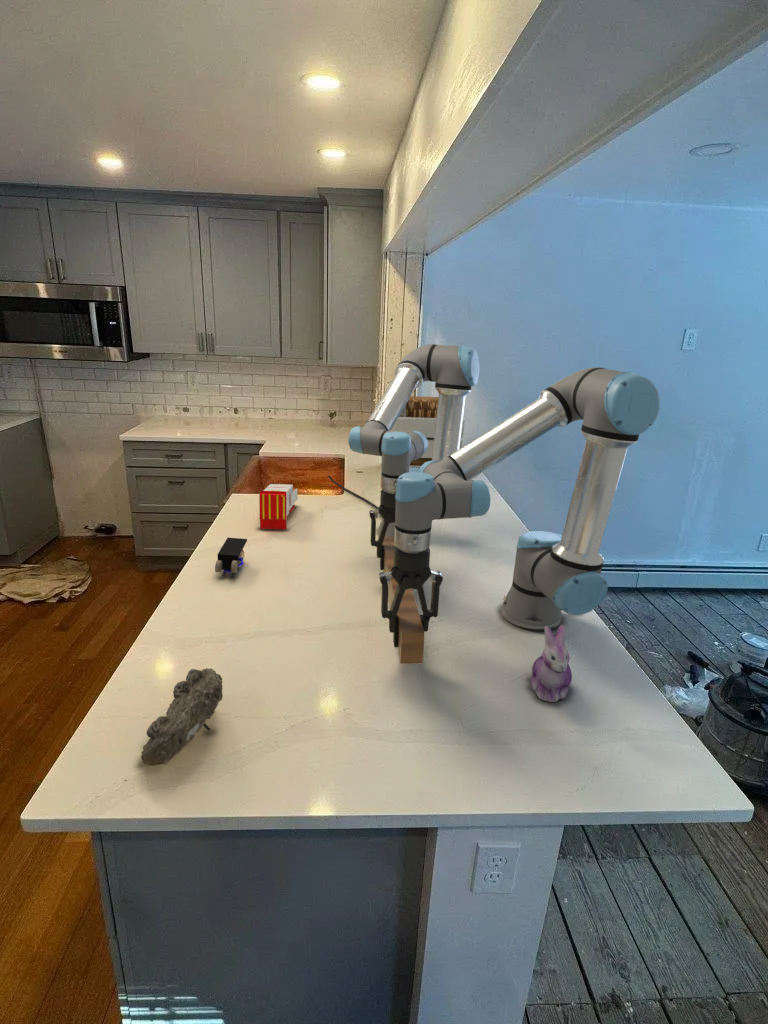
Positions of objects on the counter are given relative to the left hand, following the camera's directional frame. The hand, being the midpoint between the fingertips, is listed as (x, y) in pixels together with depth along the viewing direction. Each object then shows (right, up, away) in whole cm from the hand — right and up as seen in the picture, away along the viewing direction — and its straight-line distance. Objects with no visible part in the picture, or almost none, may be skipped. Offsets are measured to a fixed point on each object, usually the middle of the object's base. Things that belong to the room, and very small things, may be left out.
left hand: (391, 567), depth 161 cm
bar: (+2, -7, -18) cm, 19 cm away
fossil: (-38, -24, -56) cm, 72 cm away
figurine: (+33, -22, -41) cm, 57 cm away
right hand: (+3, -13, -36) cm, 38 cm away
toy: (-41, +14, +50) cm, 66 cm away
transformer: (+15, +35, +114) cm, 120 cm away
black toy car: (-47, -1, +6) cm, 47 cm away
